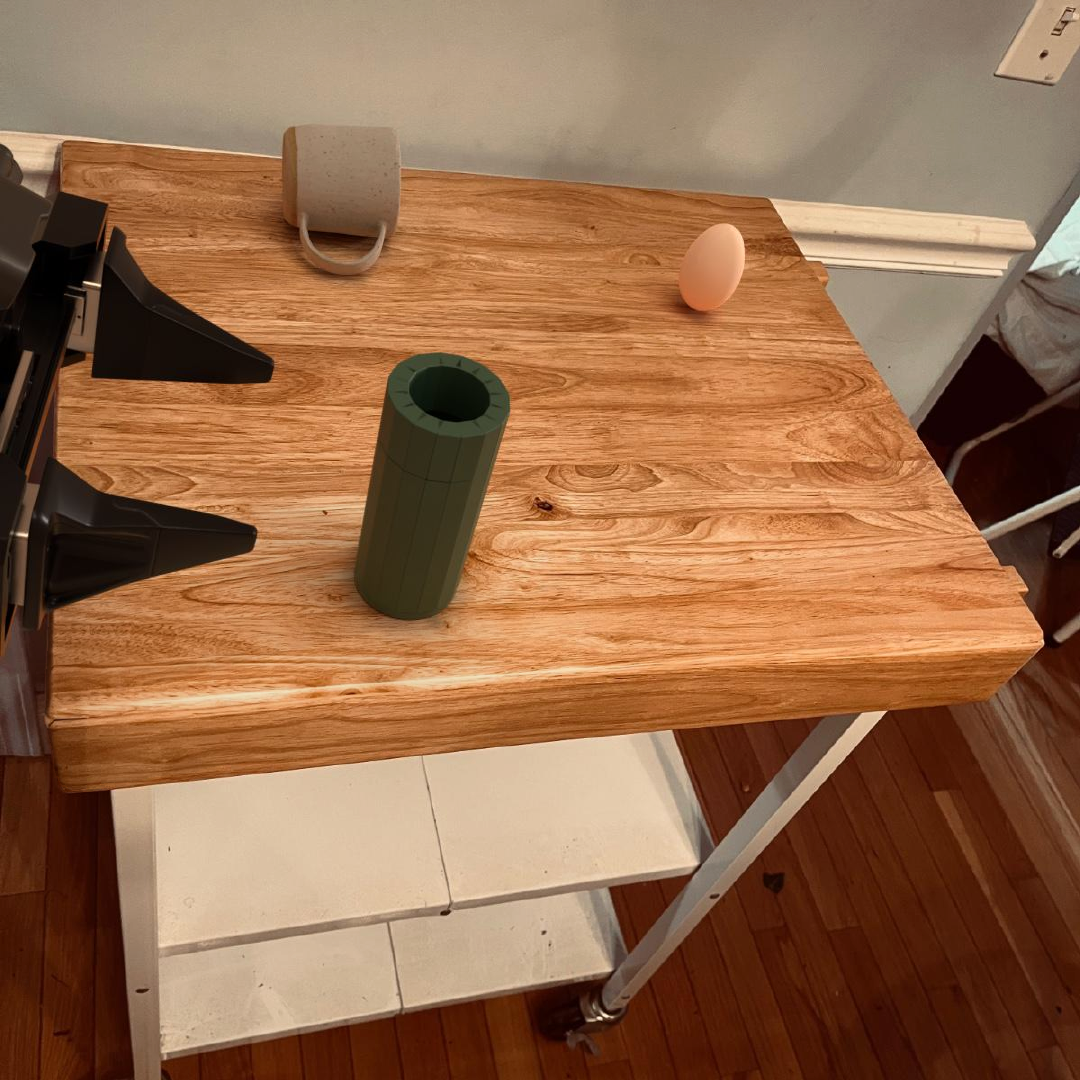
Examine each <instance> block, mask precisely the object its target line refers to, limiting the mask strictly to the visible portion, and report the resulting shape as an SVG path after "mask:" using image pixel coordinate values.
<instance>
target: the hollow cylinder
mask: <svg viewBox="0 0 1080 1080" xmlns="http://www.w3.org/2000/svg"><path fill="white" fill-rule="evenodd" d="M384 391H385V393H384V398H383V403H382V409H381V414H380V420H379V426H378V431H377V437H376V442H375V449H374V455H373V460H372V465H371V470H370V477H369V481H368V488H367V493H366V500H365V505H364V510H363V517H362V522H361V527H360V534H359V539H358V544H357V551H356V555H355V563H354V570H353V577H354V584H355V587H356V589H357V591H358V593H359V595H360V596H361V598H362V599H363V601H365V602H366V603H367V604H368V605H369V606H370V607H371V608H373V609H374V610H376V611H377V612H379V613H381V614H383V615H386V616H389V617H392V618H395V619H399V620H408V621H412V620H413V621H414V620H422V619H427V618H431V617H433V616H435V615H437V614H439V613H441V612H442V611H444V610H445V609H446V608H447V607H448V606H449V605H450V604H451V603H452V601H453V599H454V598H455V596H456V594H457V589H458V588H459V586H460V583H461V579H462V576H463V573H464V569H465V565H466V563H467V559H468V556H469V552H470V549H471V545H472V542H473V539H474V536H475V532H476V529H477V526H478V521H479V518H480V515H481V511H482V508H483V505H484V502H485V499H486V495H487V491H488V488H489V485H490V481H491V478H492V475H493V471H494V469H495V464H496V461H497V458H498V454H499V451H500V447H501V445H502V441H503V438H504V434H505V431H506V428H507V424H508V421H509V417H510V414H511V395H510V392H509V391H508V389H507V387H506V385H505V384H504V382H503V380H502V379H501V378H500V377H499V376H498V375H497V374H495V373H494V372H493V371H492V370H491V369H489V368H488V367H487V366H486V365H484V364H482V363H481V362H479V361H476V360H474V359H471V358H469V357H467V356H464V355H460V354H454V353H449V352H442V351H435V352H426V353H418V354H415V355H412V356H409V357H408V358H406V359H404V360H402V361H400V362H398V363H397V364H396V365H395V367H394V368H393V369H392V371H391V372H390V373H389V375H388V376H387V381H386V387H385V390H384Z"/></svg>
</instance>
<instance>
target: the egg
mask: <svg viewBox="0 0 1080 1080" xmlns="http://www.w3.org/2000/svg"><path fill="white" fill-rule="evenodd" d="M745 262H746V248H745V242H744V238H743V236H742V234H741V232H740V231H739V230H738V229H737V227H735V226H734V225H732V224H729V223H717V224H714V225H712V226H710V227H708V228H707V229H706V230H704V231H703V232H701V234H699V236H698V237H696V238H695V240H694V241H693V242H692V243H691V244H690V246H689V247H688V249H687V251H686V252H685V254H684V256H683V259H682V261H681V264H680V268H679V273H678V287H679V291H680V295H681V297H682V299H683V300H684V302H685V303H686V305H687V306H689V308H691V309H693V310H696V311H699V312H707V311H711V310H714V309H715V308H718V307H719V306H722V305H723V304H724V303H725V302H726V301H728V300H729V299H730V297H732V295H733V294H734V292H735V291H736V289H737V287H738V285H739V283H740V281H741V278H742V277H743V272H744V269H745Z"/></svg>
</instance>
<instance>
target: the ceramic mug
mask: <svg viewBox="0 0 1080 1080" xmlns="http://www.w3.org/2000/svg"><path fill="white" fill-rule="evenodd" d="M281 149H282V150H281V185H282V187H281V188H282V189H281V191H282V211H283V218H284V220H285V221H286V222H287V223H288V225H290V226H292V227H295V228H299V239H300V242H301V246H302V249H303V252H304V253H305V255H306V256H307V258H308V259H309V260H310V261H311V263H313V264H314V265H315V266H317V268H319V269H321V270H323V271H325V272H327V273H330V274H333V275H339V276H352V275H353V276H354V275H355V276H356V275H358V274H362V273H364V272H365V271H367V270H368V269H370V268H371V267H372V266H373V265H374V264H375V263H376V261H377V260H378V258H379V256H380V254H381V252H382V248H383V244H384V241H385V239H393V238H394V236H395V234H396V232H397V227H398V222H399V217H400V210H401V209H400V208H401V198H402V197H401V196H402V195H401V194H402V162H401V161H402V159H401V158H402V157H401V155H402V154H401V147H400V139H399V135H398V133H397V130H396V129H395V128H394V127H391V126H363V125H362V126H361V125H334V124H333V125H332V124H320V123H319V124H318V123H310V124H309V123H308V124H299V125H292V126H289V127H288V128H287V129H286V130H285V131H284V133H283V136H282V148H281ZM308 231H312V232H323V233H325V232H326V233H337V234H344V235H350V236H351V235H352V236H358V237H370V238H377V240H376V242H375V244H374V246H373V247H372V249H371V250H369V252H367V254H365V255H363V256H362V257H361V258H359V259H357V260H354V261H349V262H348V261H341V260H337V259H333V258H332V257H330V256H327V255H326V254H323V253H322V251H319V250H318V249H317V248H316V247H315V246H314V243H312V241H311V239H310V237H309V232H308Z"/></svg>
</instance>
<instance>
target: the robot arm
mask: <svg viewBox="0 0 1080 1080" xmlns="http://www.w3.org/2000/svg"><path fill="white" fill-rule="evenodd" d="M23 180H24V172H23V171H22V169H21V166H20V164H19V163H18V161H17V160H16V159H15V156H14V154H13V152H12V150H11V149H9V147H8V146H7V145H5V144H3V143H0V661H1V660H2V658H3V657H4V656H5V653H6V649H7V646H8V645H7V644H8V642H9V637H10V635H11V631H12V627H13V622H14V620H15V616H16V613H17V608H18V606H21V607H23V613H22V631H29V632H37V631H39V630H40V629H41V626H42V623H43V619H44V617H45V616H46V615H47V614H48V613H51V612H53V611H56V610H58V609H61V608H64V607H67V606H71V605H73V604H76V603H78V602H81V601H84V600H87V599H89V598H93V597H96V596H98V595H101V594H104V593H107V592H110V591H113V590H116V589H118V588H121V587H125V586H127V585H131V584H134V583H138V582H142V581H146V580H149V579H151V578H156V577H160V576H163V575H167V574H172V573H176V572H180V571H183V570H187V569H191V568H195V567H199V566H203V565H208V564H211V563H215V562H219V561H223V560H225V559H226V560H227V559H230V558H234V557H239V556H243V555H246V554H250V553H251V552H253V550H254V549H255V545H256V542H257V539H258V531H259V530H258V528H257V527H256V526H255V525H252V524H249V523H246V522H242V521H239V520H236V519H232V518H229V517H226V516H223V515H220V514H215V513H210V512H206V511H205V512H204V511H200V510H196V509H195V510H194V509H190V508H186V507H185V508H184V507H179V506H173V505H169V504H163V503H160V502H159V503H158V502H153V501H148V500H143V499H138V498H134V497H129V496H128V497H127V496H122V495H118V494H111V493H108V492H104V491H101V490H99V489H97V488H95V486H93V485H91V484H90V483H88V482H87V481H86V480H84V479H83V478H82V477H81V476H79V475H78V474H76V473H75V472H74V471H73V470H71V469H70V468H69V467H67V466H66V465H64V464H63V463H61V462H60V461H59V460H58V459H56V458H54V457H52V456H48V457H47V458H46V463H45V466H44V470H43V472H42V476H41V480H40V483H34V482H29V481H28V480H29V477H30V473H31V469H32V466H33V463H34V461H35V456H36V453H37V449H38V447H39V443H40V439H41V436H42V433H43V429H44V426H45V422H46V419H47V416H48V412H49V410H50V407H51V402H52V398H53V395H54V393H55V388H56V385H57V382H58V378H59V375H60V371H61V369H64V368H66V367H70V366H73V365H76V364H79V363H83V362H85V361H86V359H87V356H88V354H90V355H92V365H91V373H90V378H92V379H99V380H119V381H121V380H123V381H145V382H146V381H147V382H149V381H150V382H167V383H168V382H169V383H170V382H171V383H188V384H189V383H190V384H191V383H192V384H208V385H209V384H211V385H212V384H213V385H214V384H215V385H255V384H268V383H270V382H271V381H272V379H273V374H274V370H275V360H274V359H273V358H272V357H271V356H270V355H268V354H266V353H264V352H263V351H262V350H260V349H257V347H254V346H252V345H251V344H249V343H248V342H247V341H244V340H243V339H241V338H239V337H237V336H235V335H234V334H232V333H230V332H228V331H227V330H226V329H224V328H222V327H220V326H218V325H217V324H215V323H214V322H212V321H210V320H208V319H207V318H205V317H203V316H202V315H200V314H198V313H197V312H195V311H194V310H191V309H190V308H188V307H187V306H185V305H184V304H182V303H181V302H179V301H178V300H176V299H174V298H173V297H171V296H170V295H168V294H167V293H166V292H164V291H163V290H161V289H160V288H158V287H157V286H155V285H154V284H153V283H152V282H151V281H150V280H149V279H148V278H147V276H146V275H145V273H144V272H143V270H142V269H141V267H140V265H139V264H138V262H137V261H136V260H135V258H134V256H133V255H132V254H131V252H130V250H129V249H128V247H127V240H128V237H127V234H126V233H125V232H124V231H123V230H122V229H121V228H120V227H118V226H117V225H113V227H112V231H111V233H110V234H111V235H110V239H109V241H108V245H107V249H106V242H107V232H108V223H109V214H110V204H109V203H108V202H103V201H101V200H96V199H92V198H88V197H85V196H81V195H77V194H73V193H69V192H66V191H61V190H57V191H55V192H53V193H51V194H49V195H47V196H45V197H44V196H42V195H41V194H39V193H37V192H35V191H34V190H31V189H30V188H28V187H26V186H24V185H22V183H23Z"/></svg>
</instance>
